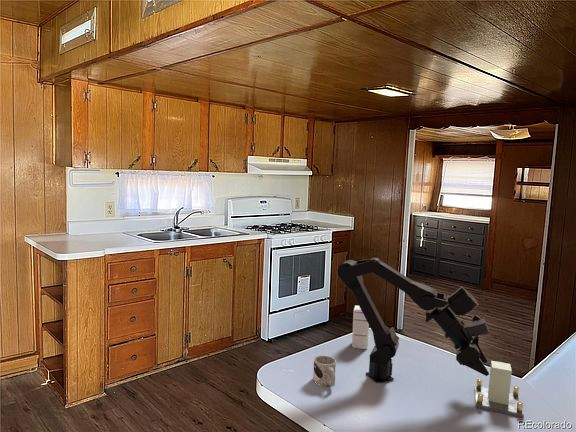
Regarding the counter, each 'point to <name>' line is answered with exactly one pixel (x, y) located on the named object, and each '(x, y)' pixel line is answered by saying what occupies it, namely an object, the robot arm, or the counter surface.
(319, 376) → the mug
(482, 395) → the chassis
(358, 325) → the syrup box
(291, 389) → the counter surface
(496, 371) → the sage block
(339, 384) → the counter surface
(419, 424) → the counter surface
